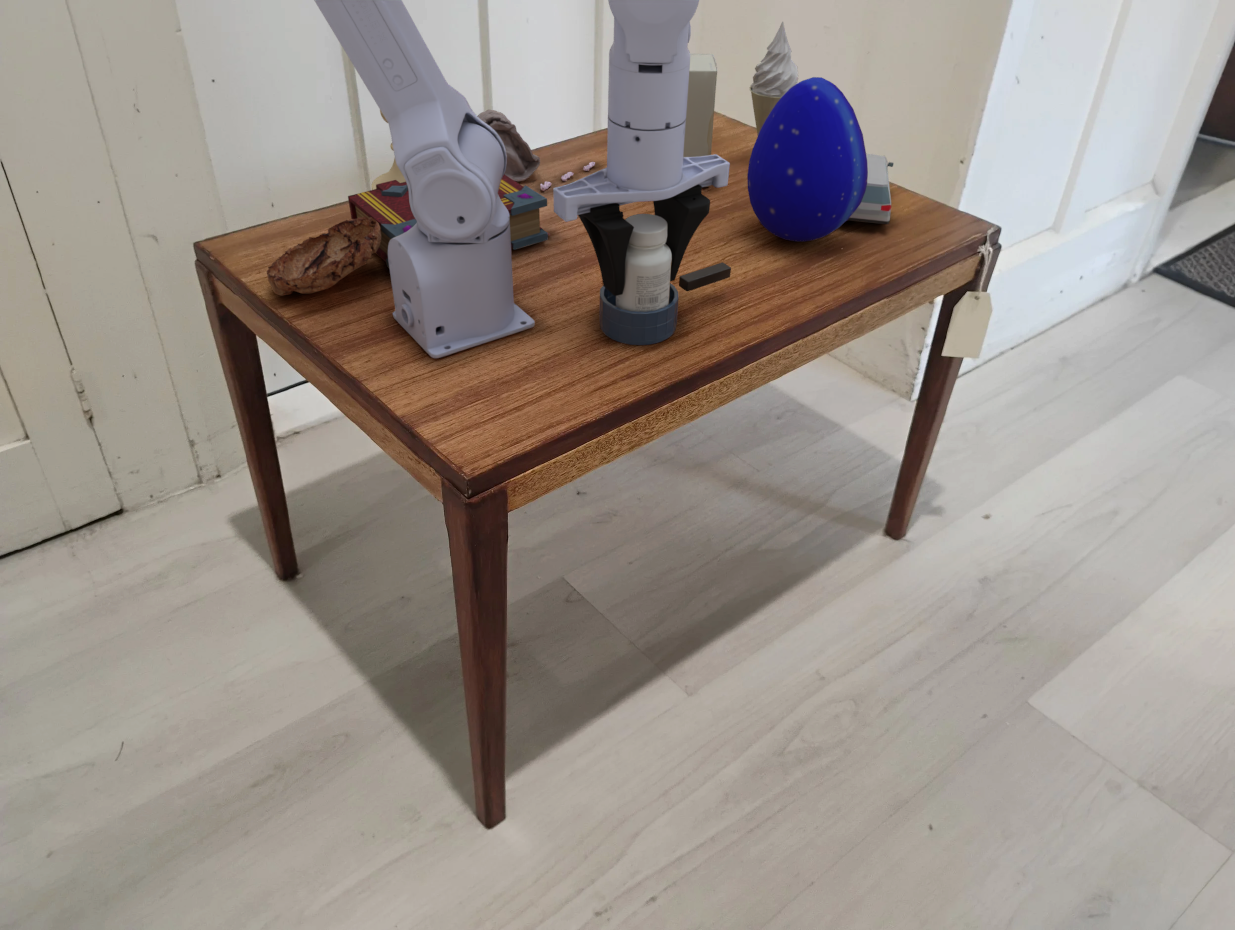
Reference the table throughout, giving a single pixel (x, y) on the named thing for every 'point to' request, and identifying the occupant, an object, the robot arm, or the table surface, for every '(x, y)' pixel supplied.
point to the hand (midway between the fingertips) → (639, 282)
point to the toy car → (875, 193)
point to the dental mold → (512, 146)
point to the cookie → (325, 257)
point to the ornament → (808, 163)
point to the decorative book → (397, 218)
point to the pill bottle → (646, 265)
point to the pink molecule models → (566, 176)
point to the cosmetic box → (700, 105)
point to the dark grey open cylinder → (637, 320)
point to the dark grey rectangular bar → (704, 276)
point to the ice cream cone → (773, 77)
